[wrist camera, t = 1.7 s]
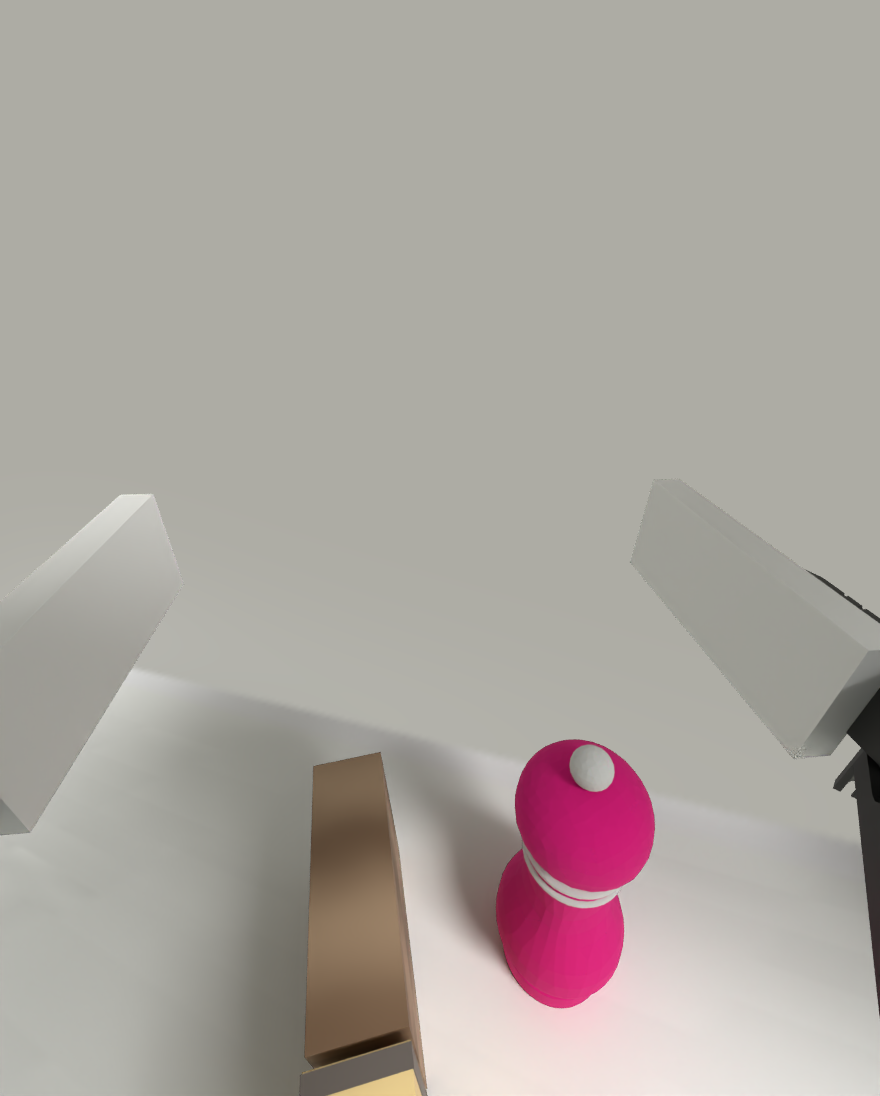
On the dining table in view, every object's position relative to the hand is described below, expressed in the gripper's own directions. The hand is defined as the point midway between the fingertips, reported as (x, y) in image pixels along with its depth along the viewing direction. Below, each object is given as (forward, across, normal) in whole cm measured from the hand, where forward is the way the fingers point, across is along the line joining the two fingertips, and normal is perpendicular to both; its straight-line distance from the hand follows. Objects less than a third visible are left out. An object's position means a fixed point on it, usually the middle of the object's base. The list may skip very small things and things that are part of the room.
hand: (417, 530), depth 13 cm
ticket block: (0, -3, -31) cm, 31 cm away
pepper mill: (0, +8, -31) cm, 32 cm away
